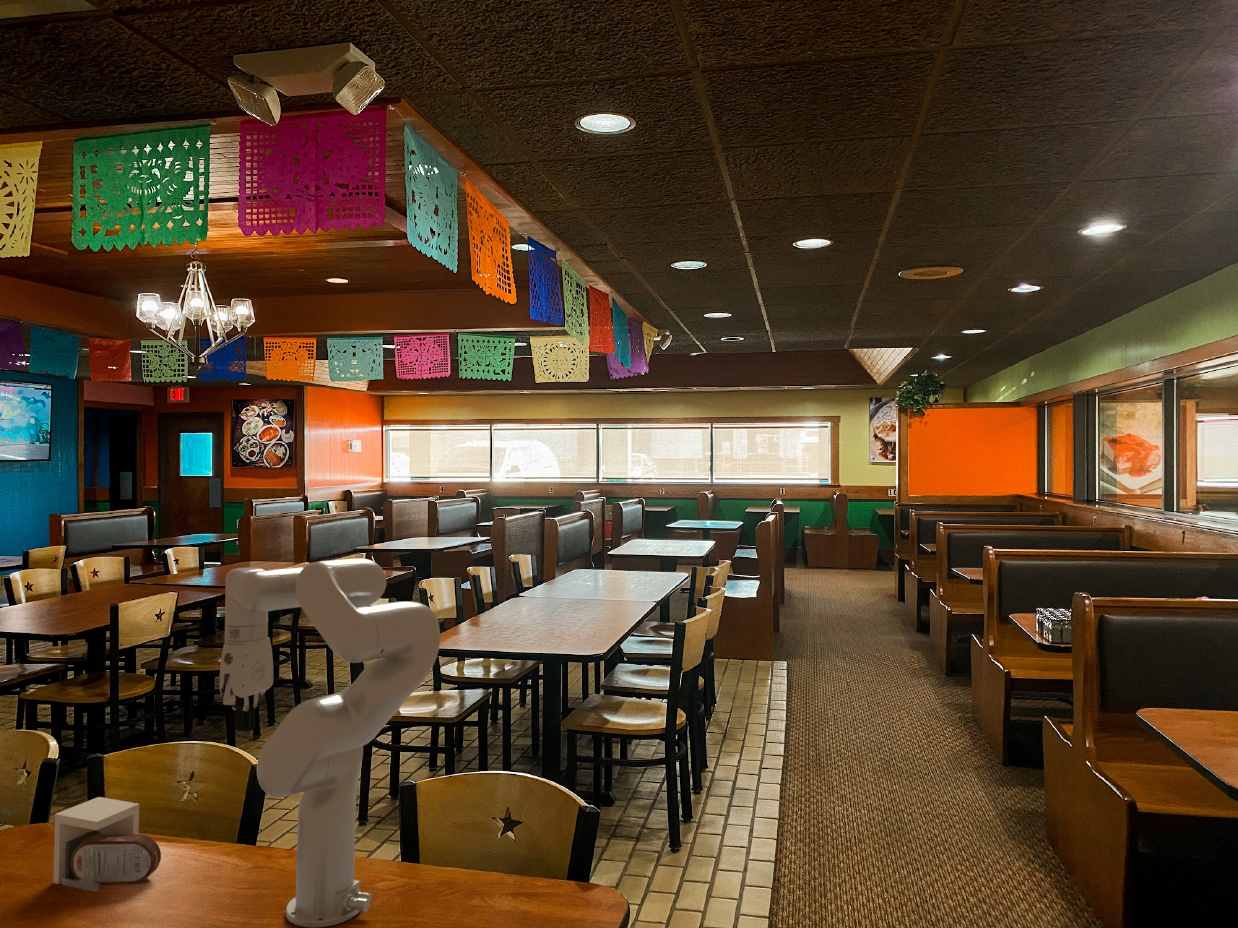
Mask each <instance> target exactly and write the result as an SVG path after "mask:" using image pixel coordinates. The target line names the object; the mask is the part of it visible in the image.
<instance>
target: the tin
mask: <svg viewBox="0 0 1238 928" xmlns="http://www.w3.org/2000/svg"><path fill="white" fill-rule="evenodd" d="M161 859H162V852H161V848H160V847H159V845H158V843H157V842H156V841H155V840H154V839H153V838H151V837H150V836H149V835H146V834H141V833H139V834H97V835H92V836H89V837H87V838H86V839H84V840H83V841H82V842H81V843H80V845H79V846H78V847H77V848H76V849H75V850H74V852H73V853H72V855H71V860H70V865H71V870H72V873H73V874H74V876H75V877H76V879H81V880H86V881H90V882H95V883H99V885H131V884H132V885H133V884H139V883H141V882H143V881H145V880H147V879H148V878H149V877H150V876H151V875H152V874H154V872H155V871H156V870H157V869H158V867H159V865H160V863H161Z"/></svg>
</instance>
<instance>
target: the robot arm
mask: <svg viewBox="0 0 1238 928" xmlns="http://www.w3.org/2000/svg"><path fill="white" fill-rule="evenodd" d="M386 588H387V576H386V573H385V571H384V569H383V568H382V567H381V565H379V564H378V563H377V562H375V561H373V560H372V559H368V558H364V557H363V558H361V557H354V558H353V557H352V558H344V559H343V558H341V559H331V560H320V561H315V562H311V563H308V564H307V565H306V566H302V567H301V566H299V567H289V568H288V567H286V568H275V569H274V568H273V569H268V570H267V569H265V568H263V567H261V568H260V567H237V568H233V569H231V570H230V569H229V571H227V573H226V576H225V604H224V605H225V611H224V643H223V646H222V651H221V657H220V658H221V659H220V667H219V692H220V695H221V696H223V700H222V704H223V705H226V706H232V710H234V711H235V712H234V730H235V731H236V732H245V733H249V732H250V731H253V730H255V728H256V708H257V707H258V704H259V703H258V702H259V699H260V697H261V696H262V695H264V694H265V693H266V692H267V690H269V689H270V688H271V687H272V686H273V683H274V659H273V648H272V643H271V638H270V637H268V636H269V632H268V631H269V612H272V611H278V610H279V611H280V610H286V609H294V608H301V609H302V611H303V613H304V614H305V615H306V618H308V619H309V621H310V623H311V624H312V625H313V626H314V628H315V630H317V632H318V633H319V635H320V636H321V637H322V639H323V641H325V643H326V645H327V646H328V647H329V648H330V650H331V651H332V652H333V654H335V656H337V657H338V658H339V659H341V660H342V661H344V662H346V663H352V664H357V663H358V664H359V663H360V664H361V663H364V662H369V661H373V662H372V663H370V664H369V665H368V666H366V667H365V668H363V670H362V672H360V674H359V675H358V677H357V678H356V679H355V680H354V681H353V682H352V684H351V685H350V686H348V687H347V688H346V689H344V690H342V691H339V692H335V693H332V694H328V695H327V694H326V695H324V696H319V697H316V698H312V699H311V698H310V699H309V700H305V701H303V702H301V703H299V704H297V705H296V706H295V707H293V708H292V709H291V710H290V711H289V712H288V713H287V714H286V716H285V717H284V719H283V720H282V721H281V722H280V724H278V726H277V728H276V729H275V730H274V732H273V733H272V734H271V735H270V736H269V739H267V741H266V742H265V744H264V746H263V747H262V748H261V751H260V752H259V754H258V755H259V756H258V759H257V763H256V777H257V781H258V783H259V786H260V788H261V789H262V790H263V791H264V792H265V793H266V794H268V795H270V796H272V797H275V798H285V797H290V796H293V795H296V794H300V793H302V796H301V798H300V800H299V804H298V808H297V823H296V824H297V825H296V826H297V828H296V829H297V830H296V831H297V832H296V868H295V869H296V871H295V872H296V874H295V875H296V877H295V880H296V881H295V883H296V884H295V896H294V897H293V898H292V899H291V900H290V901H289V902H288V903H287V905H286V908H285V916H286V920H288V922H290V923H291V924H293V925H295V926H298V927H303V928H325V927H331V926H336V925H339V924H342V923H345V922H346V921H348V920H351V919H352V918H354V917H355V916H356V915H357V914H359V913H360V912H363V913H366V912H367V911H368V910H369V908H370V906H371V900H372V897H373V895H372V893H371V892H366V891H361V890H360V886H361V885H360V880H357V879H355V861H356V860H355V858H356V857H355V855H356V853H355V852H356V847H355V846H356V844H355V843H356V817H357V816H356V815H357V814H356V812H357V811H356V810H357V806H356V805H357V793H358V792H357V790H358V783H359V776H360V772H361V767H362V762H363V756H364V746H365V745H368V744H369V743H370V742H371V741H372V740H374V738H376V736H377V735H378V734H379V733H380V732H381V730H382V729H383V728H384V727H385V726H386V725H387V723H388V722H390V720H391V719H392V717H393V716H394V715H395V714H396V713H397V712H398V710H399V709H400V707H401V706H402V705H403V704H404V703H405V701H407V699H408V698H410V696H411V695H412V694H413V693H414V692H415V691H416V690H417V688H419V686H420V685H421V684H422V683H423V682H424V680H426V678H427V677H428V675H429V674H430V672H431V670H432V669H433V667H434V664H435V662H436V660H437V657H438V654H439V650H440V644H441V643H440V642H441V631H440V630H441V628H440V624H439V619H438V617H437V615H436V613H435V612H434V611H433V610H432V609H431V608H430V607H429V606H427V605H425V604H423V603H421V602H416V601H411V600H409V601H408V600H407V601H404V600H403V601H393V602H387V603H379V604H374V603H376V602H377V601H378V600H379V599H380V598H381V597H382V595H383V594H384V593H385V590H386Z"/></svg>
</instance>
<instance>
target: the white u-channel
mask: <svg viewBox="0 0 1238 928" xmlns="http://www.w3.org/2000/svg"><path fill="white" fill-rule="evenodd" d="M139 820H140V803H136V802H130V801H126V800H125V801H124V800H121V799H120V800H119V799H114V798H109V797H108V798H107V797H101V796H98V797H95V798H93V799H90V800H88V801H84V802H82V803H80V804H77V805H74V806H72V807H70V808H67V809H64V810H61V811H59V812H57V813H55V814H54V843H53V845H54V846H53V847H54V848H53V851H54V852H53V884H57V885H60V884H61V885H62V886H65V887H71V888H74V889H79V890H84V891H88V892H92V893H97V892H99V891H100V884H99V883H95V882H90V881H86V880H81V879H77V878H76V877H75V876H74V874H73V873H72V870H71V865H70V860H71V855H72V853H73V852H74V850H75V849H76V848H77V847H78V846H79V845H80V843H81V842H82V841H83V840H84V839H86V838H87V837H89V836H92V835H97V834H140V833H139V829H140V828H139V826H140V825H139V824H140V821H139Z"/></svg>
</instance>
